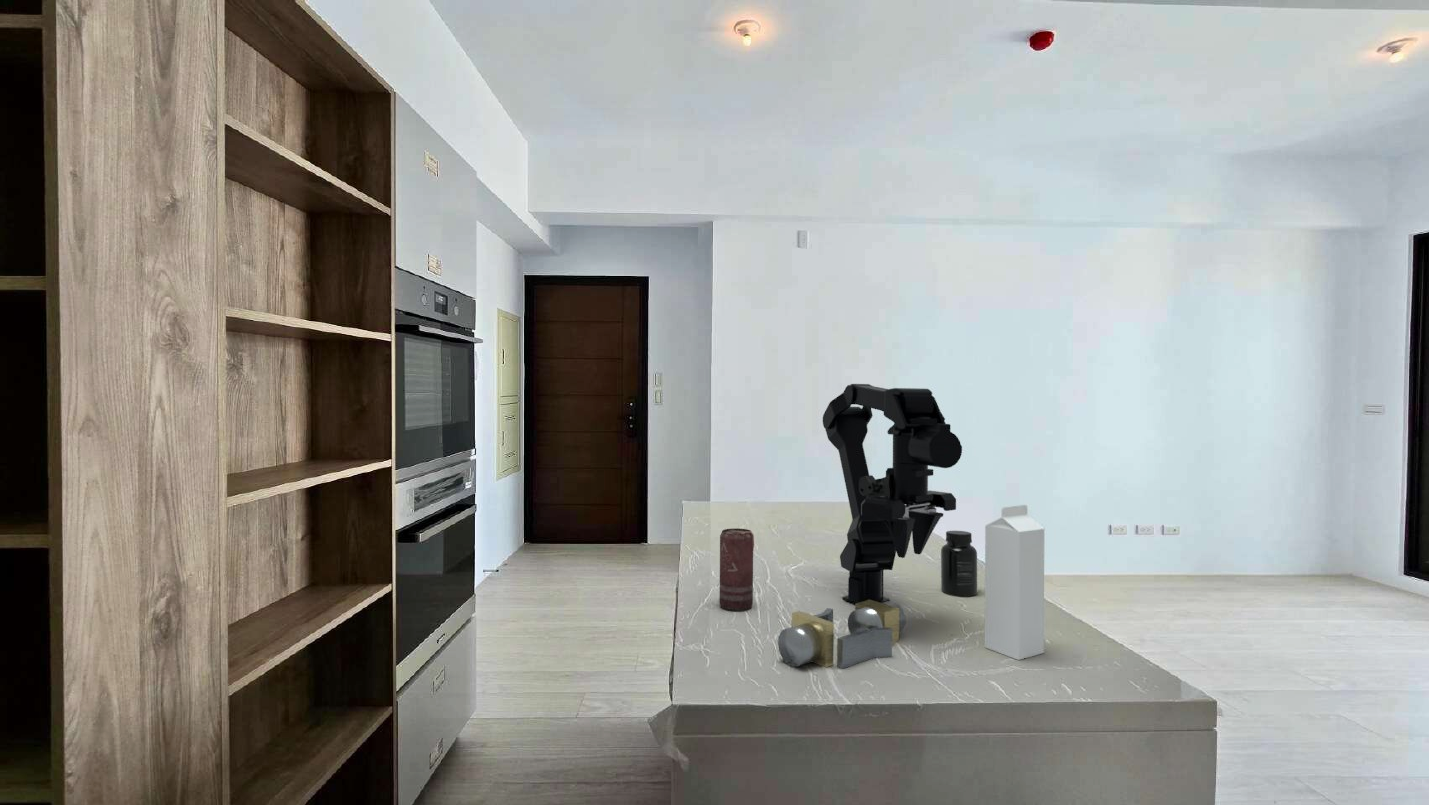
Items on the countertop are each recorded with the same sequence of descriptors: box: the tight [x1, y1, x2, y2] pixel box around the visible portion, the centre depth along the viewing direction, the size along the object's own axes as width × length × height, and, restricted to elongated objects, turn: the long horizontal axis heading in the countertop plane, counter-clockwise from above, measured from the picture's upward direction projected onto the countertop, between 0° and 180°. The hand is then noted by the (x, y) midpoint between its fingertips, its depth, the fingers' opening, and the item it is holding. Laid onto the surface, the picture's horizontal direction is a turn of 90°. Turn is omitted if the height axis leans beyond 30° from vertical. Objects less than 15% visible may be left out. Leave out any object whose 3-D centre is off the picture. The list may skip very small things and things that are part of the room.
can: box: [718, 527, 755, 612], centre depth 122 cm, size 6×6×14 cm
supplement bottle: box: [940, 530, 978, 597], centre depth 133 cm, size 7×7×12 cm
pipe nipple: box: [847, 600, 907, 644], centre depth 106 cm, size 8×6×5 cm
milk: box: [984, 504, 1045, 661], centre depth 101 cm, size 6×6×22 cm
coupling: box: [777, 607, 893, 670], centre depth 99 cm, size 15×13×6 cm
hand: (909, 555), depth 111 cm, fingers open, 4 cm apart
